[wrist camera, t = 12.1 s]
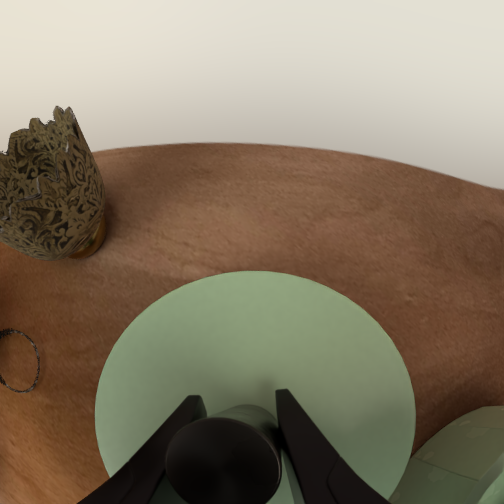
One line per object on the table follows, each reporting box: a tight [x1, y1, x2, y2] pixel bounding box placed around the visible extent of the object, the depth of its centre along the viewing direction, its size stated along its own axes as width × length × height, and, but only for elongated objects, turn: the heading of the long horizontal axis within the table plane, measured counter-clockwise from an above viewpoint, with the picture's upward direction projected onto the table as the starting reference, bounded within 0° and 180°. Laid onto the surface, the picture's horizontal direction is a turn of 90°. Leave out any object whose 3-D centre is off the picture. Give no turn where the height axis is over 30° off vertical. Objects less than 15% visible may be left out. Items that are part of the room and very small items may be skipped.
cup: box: [0, 106, 106, 261], centre depth 13 cm, size 8×7×8 cm
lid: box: [95, 271, 416, 504], centre depth 7 cm, size 13×13×6 cm
